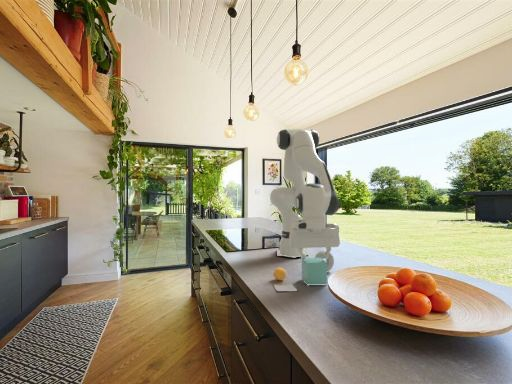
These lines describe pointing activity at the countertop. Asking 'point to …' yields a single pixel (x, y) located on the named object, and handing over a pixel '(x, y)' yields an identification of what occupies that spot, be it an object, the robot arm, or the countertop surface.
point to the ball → (280, 274)
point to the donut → (329, 261)
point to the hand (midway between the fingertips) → (314, 258)
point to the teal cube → (314, 271)
